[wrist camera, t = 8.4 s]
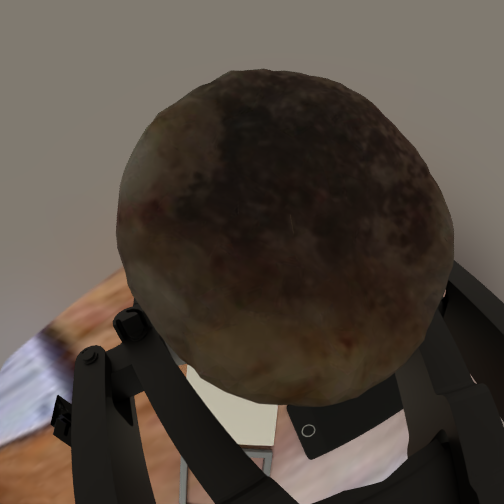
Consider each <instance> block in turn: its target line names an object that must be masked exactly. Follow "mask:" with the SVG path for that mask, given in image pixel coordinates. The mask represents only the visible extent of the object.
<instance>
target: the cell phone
mask: <svg viewBox="0 0 504 504" xmlns="http://www.w3.org/2000/svg"><path fill="white" fill-rule="evenodd" d="M402 409H403V404H402V399H401V395H400V391H399V387H398V383H397V379H396V376H395V373H394V374H392V375H391V376H390V377H388V378H387V379H386V380H384V381H382V382H380V383H379V384H377V385H375V386H373V387H372V388H370V389H368V390H367V391H365V392H364V393H363V394H361V395H360V396H359V397H357V398H353V399H349V400H346V401H343V402H341V403H337V404H333V405H328V406H324V407H309V406H294V405H287V412H288V414H289V416H290V419H291V421H292V423H293V426H294V428H295V430H296V433H297V435H298V437H299V440H300V442H301V444H302V447H303V449H304V451H305V453H306V455H307V457H308V458H309V459H310V460H312V459H315V458H317V457H319V456H321V455H323V454H326V453H328V452H330V451H332V450H334V449H336V448H338V447H340V446H342V445H344V444H345V443H347V442H349V441H351V440H353V439H355V438H357V437H358V436H360V435H362V434H364V433H365V432H367V431H369V430H370V429H372V428H374V427H376V426H377V425H379V424H380V423H382V422H384V421H385V420H387V419H388V418H390V417H391V416H393V415H395V414H396V413H398V412H399V411H401V410H402Z"/></svg>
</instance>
